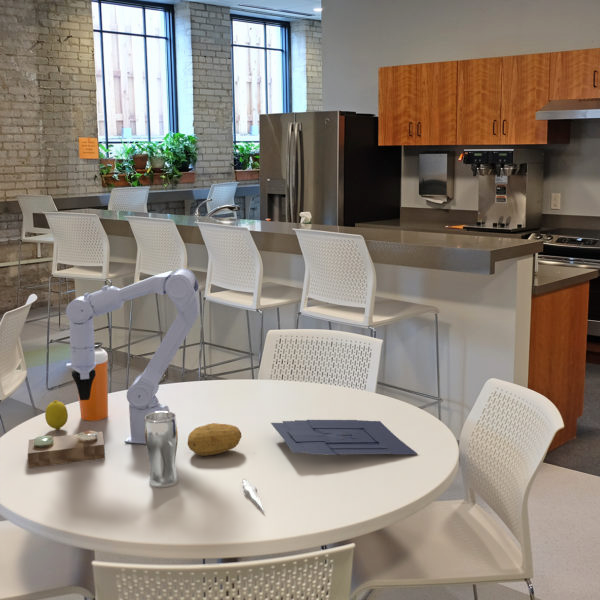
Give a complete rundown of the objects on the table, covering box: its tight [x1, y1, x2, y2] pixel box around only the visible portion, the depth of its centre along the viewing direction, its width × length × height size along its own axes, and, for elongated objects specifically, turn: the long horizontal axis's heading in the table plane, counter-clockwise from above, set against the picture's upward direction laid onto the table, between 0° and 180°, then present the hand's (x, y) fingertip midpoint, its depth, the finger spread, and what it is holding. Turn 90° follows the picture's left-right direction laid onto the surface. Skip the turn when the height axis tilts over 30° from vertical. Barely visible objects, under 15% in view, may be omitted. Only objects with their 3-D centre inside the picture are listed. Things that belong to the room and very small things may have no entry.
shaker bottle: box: [77, 341, 109, 422], centre depth 217 cm, size 9×9×20 cm
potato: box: [187, 422, 242, 456], centre depth 192 cm, size 9×13×7 cm
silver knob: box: [78, 430, 98, 443], centre depth 193 cm, size 4×4×4 cm
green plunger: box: [33, 435, 54, 448], centre depth 190 cm, size 4×4×4 cm
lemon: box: [44, 399, 69, 431], centre depth 209 cm, size 6×6×8 cm
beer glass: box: [145, 411, 179, 488], centre depth 175 cm, size 7×7×15 cm
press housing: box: [27, 431, 106, 469], centre depth 191 cm, size 17×9×4 cm, turn 106°
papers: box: [270, 419, 418, 456], centre depth 196 cm, size 24×30×4 cm
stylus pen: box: [241, 478, 265, 512], centre depth 168 cm, size 15×3×2 cm, turn 19°
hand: (84, 399), depth 200 cm, fingers closed
